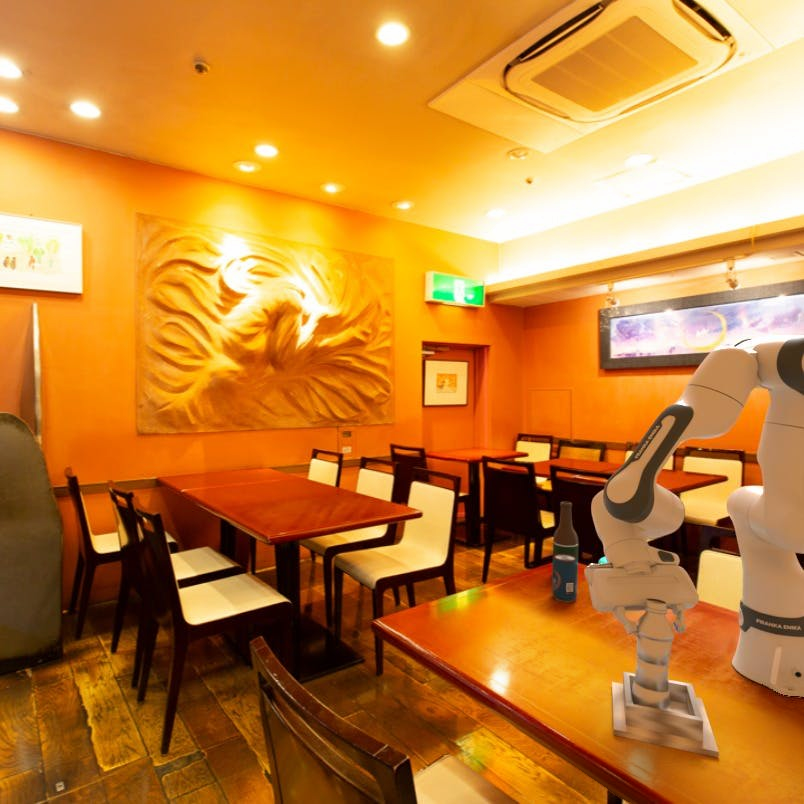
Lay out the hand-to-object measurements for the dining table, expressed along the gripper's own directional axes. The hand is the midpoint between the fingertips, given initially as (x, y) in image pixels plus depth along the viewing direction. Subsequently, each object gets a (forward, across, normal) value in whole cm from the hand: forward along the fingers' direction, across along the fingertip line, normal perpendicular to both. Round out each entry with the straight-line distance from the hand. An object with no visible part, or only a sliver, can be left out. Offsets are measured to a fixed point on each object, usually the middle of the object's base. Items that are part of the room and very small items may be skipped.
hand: (657, 632), depth 98 cm
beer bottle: (-40, +11, +62) cm, 74 cm away
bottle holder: (+12, 0, +10) cm, 15 cm away
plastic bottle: (+11, -2, +9) cm, 14 cm away
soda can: (-27, +4, +49) cm, 56 cm away
